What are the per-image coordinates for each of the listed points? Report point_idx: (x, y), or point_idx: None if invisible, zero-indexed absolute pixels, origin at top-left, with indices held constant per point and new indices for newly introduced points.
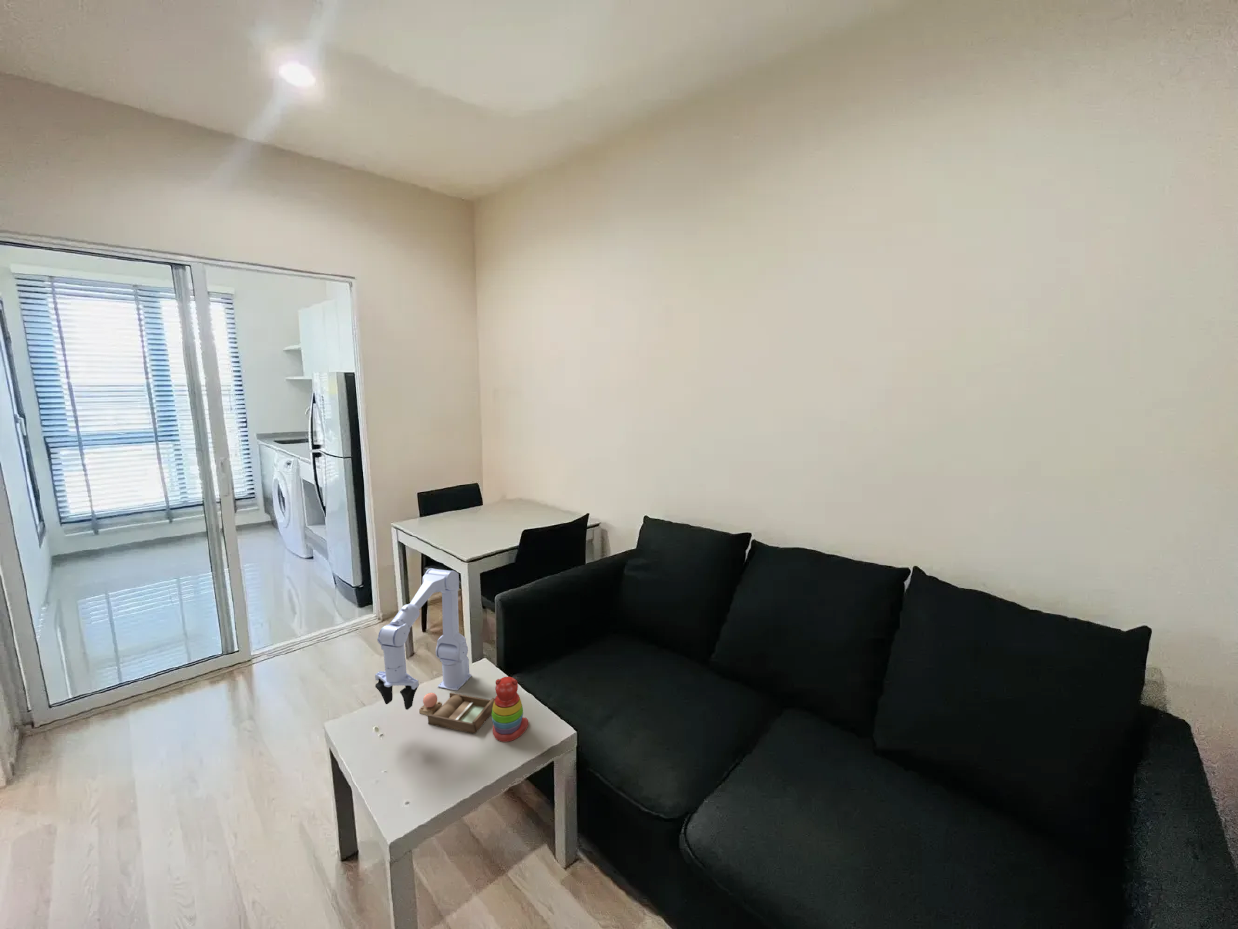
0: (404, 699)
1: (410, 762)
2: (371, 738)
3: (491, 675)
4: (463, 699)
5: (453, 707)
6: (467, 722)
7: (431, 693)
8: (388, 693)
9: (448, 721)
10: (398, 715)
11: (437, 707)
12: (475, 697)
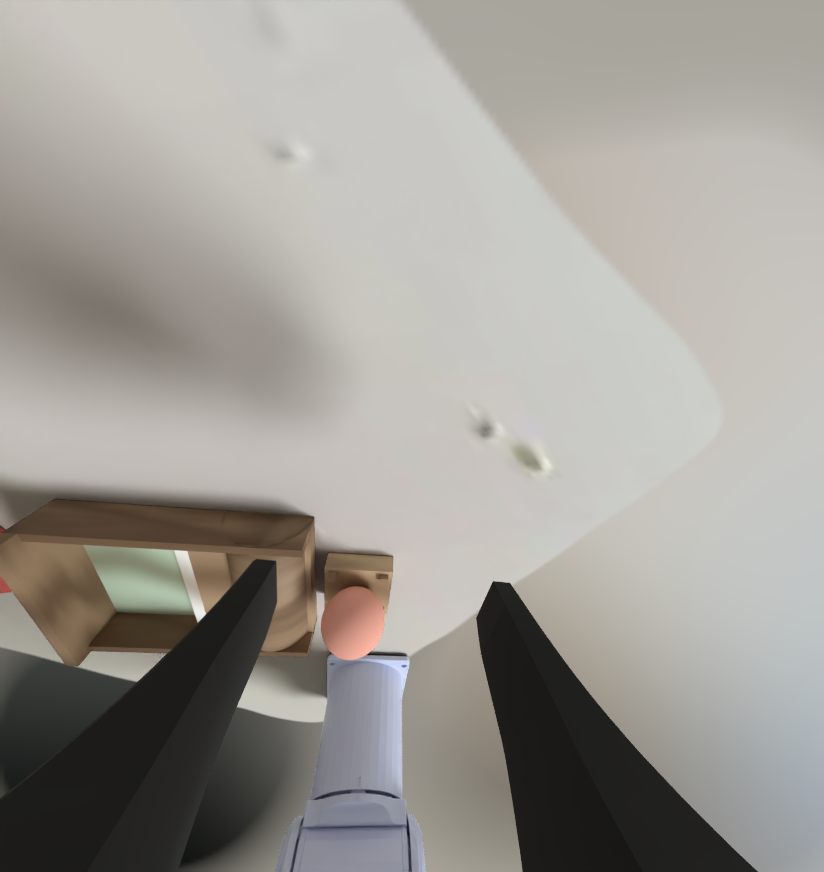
0: (163, 708)
1: (191, 264)
2: (524, 402)
3: (268, 707)
4: None
5: None
6: (57, 542)
7: (343, 658)
8: (519, 708)
9: (181, 535)
10: (474, 536)
11: (324, 590)
12: None
